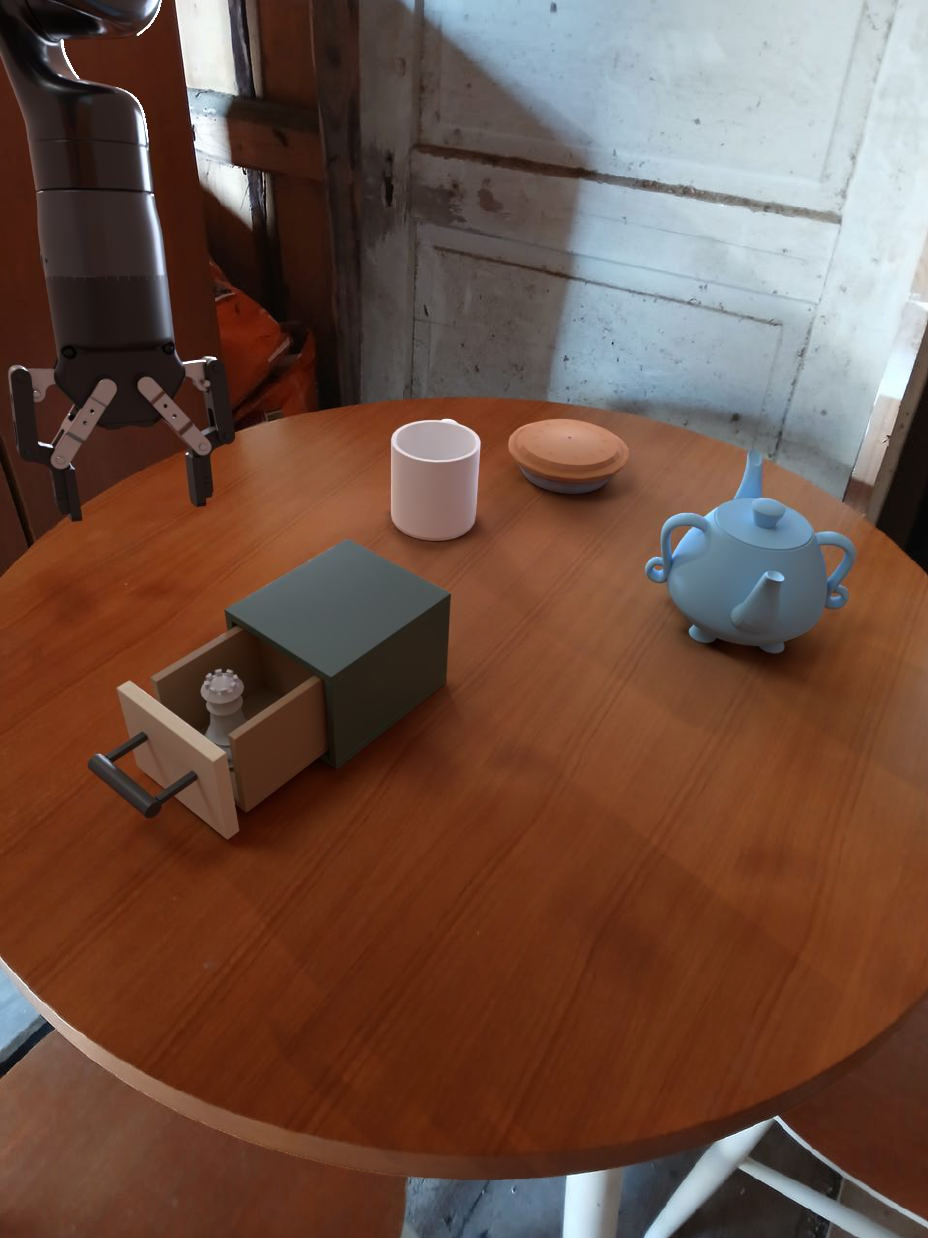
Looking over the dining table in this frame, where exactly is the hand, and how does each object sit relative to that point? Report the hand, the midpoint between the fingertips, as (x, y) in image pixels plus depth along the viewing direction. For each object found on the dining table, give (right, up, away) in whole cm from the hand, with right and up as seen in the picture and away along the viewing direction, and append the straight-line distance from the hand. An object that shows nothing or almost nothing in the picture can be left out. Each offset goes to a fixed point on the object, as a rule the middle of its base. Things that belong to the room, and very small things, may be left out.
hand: (139, 511), depth 65 cm
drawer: (+4, -20, +9) cm, 23 cm away
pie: (+37, +11, +53) cm, 65 cm away
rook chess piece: (+4, -19, +10) cm, 22 cm away
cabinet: (+12, -14, +19) cm, 27 cm away
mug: (+20, +5, +44) cm, 48 cm away
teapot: (+52, -8, +31) cm, 61 cm away
